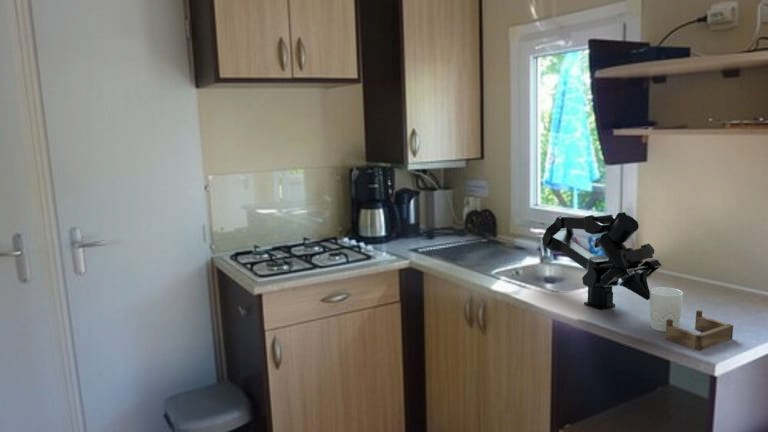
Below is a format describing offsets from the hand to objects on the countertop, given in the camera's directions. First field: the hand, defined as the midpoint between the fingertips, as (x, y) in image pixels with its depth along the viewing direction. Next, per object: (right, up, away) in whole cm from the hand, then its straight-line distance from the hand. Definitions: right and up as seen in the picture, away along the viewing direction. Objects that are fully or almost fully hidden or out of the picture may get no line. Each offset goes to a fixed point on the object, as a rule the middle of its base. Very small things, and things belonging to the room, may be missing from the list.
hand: (649, 299), depth 158 cm
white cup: (+3, -7, -3) cm, 8 cm away
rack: (+7, -8, -11) cm, 16 cm away
